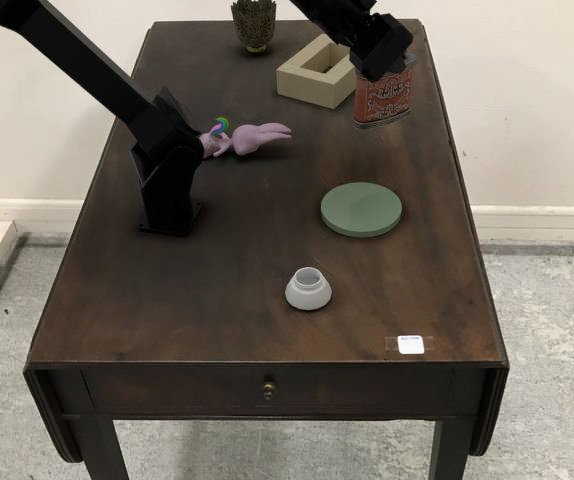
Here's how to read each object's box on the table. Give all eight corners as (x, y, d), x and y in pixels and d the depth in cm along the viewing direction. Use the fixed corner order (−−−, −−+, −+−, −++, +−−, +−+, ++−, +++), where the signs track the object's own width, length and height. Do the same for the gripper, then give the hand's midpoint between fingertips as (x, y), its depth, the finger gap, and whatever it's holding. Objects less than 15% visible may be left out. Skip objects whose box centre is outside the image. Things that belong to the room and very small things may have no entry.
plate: (395, 242, 83) (395, 236, 82) (312, 231, 85) (312, 225, 84) (406, 193, 89) (406, 186, 89) (329, 184, 91) (329, 178, 91)
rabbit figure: (187, 175, 96) (293, 157, 94) (173, 137, 92) (284, 118, 90) (192, 150, 101) (293, 132, 98) (179, 113, 96) (285, 94, 94)
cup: (233, 62, 116) (228, 14, 110) (236, 42, 121) (232, -5, 115) (277, 61, 116) (275, 13, 110) (279, 41, 121) (277, -6, 115)
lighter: (400, 104, 90) (408, 28, 83) (415, 116, 88) (425, 38, 81) (347, 120, 88) (350, 43, 81) (361, 133, 86) (366, 54, 79)
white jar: (315, 318, 74) (339, 291, 77) (315, 299, 72) (340, 271, 75) (277, 301, 77) (301, 275, 79) (275, 281, 74) (301, 255, 77)
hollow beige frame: (333, 109, 104) (334, 84, 102) (269, 91, 109) (268, 67, 106) (375, 70, 112) (377, 45, 110) (314, 55, 117) (314, 31, 114)
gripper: (404, -59, 64) (487, 39, 74) (328, -112, 76) (408, -21, 87) (323, 40, 68) (413, 120, 78) (263, -25, 80) (347, 51, 91)
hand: (396, 63), depth 83 cm, fingers closed on lighter, 3 cm apart
